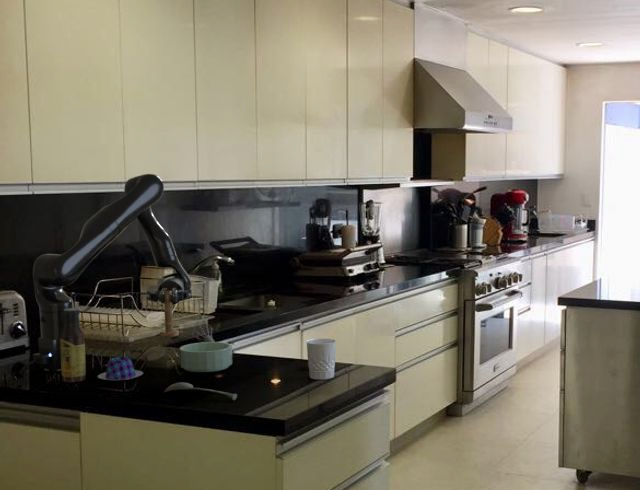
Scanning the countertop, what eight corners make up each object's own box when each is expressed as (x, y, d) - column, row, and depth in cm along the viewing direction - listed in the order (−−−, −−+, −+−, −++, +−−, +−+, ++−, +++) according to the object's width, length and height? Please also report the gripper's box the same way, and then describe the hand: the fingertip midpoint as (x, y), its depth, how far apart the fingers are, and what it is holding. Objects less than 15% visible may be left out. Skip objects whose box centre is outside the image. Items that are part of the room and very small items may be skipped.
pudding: (122, 370, 265) (121, 352, 264) (152, 375, 259) (151, 356, 258) (88, 379, 255) (87, 360, 254) (118, 384, 249) (117, 365, 248)
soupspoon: (176, 391, 244) (159, 397, 238) (175, 378, 243) (157, 385, 237) (243, 396, 233) (226, 404, 228) (242, 383, 233) (225, 390, 227)
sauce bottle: (58, 380, 254) (54, 308, 251) (81, 377, 258) (77, 306, 255) (67, 384, 249) (62, 311, 246) (90, 381, 253) (86, 309, 250)
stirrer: (169, 337, 268) (167, 292, 266) (156, 335, 270) (154, 291, 269) (182, 334, 272) (180, 290, 270) (169, 332, 275) (167, 289, 273)
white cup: (340, 374, 257) (339, 339, 256) (330, 381, 250) (329, 344, 249) (314, 373, 260) (313, 338, 258) (303, 379, 252) (302, 343, 251)
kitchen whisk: (207, 356, 283) (206, 336, 282) (190, 338, 314) (190, 320, 313) (227, 355, 285) (226, 334, 284) (209, 337, 316) (208, 318, 316)
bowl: (207, 375, 259) (206, 353, 258) (169, 369, 266) (168, 348, 265) (242, 365, 271) (242, 344, 270) (206, 360, 279) (205, 340, 278)
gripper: (146, 279, 282) (141, 287, 265) (193, 278, 284) (191, 285, 268) (148, 304, 283) (142, 313, 266) (194, 302, 285) (192, 311, 269)
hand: (167, 299), depth 267 cm, fingers closed on stirrer
